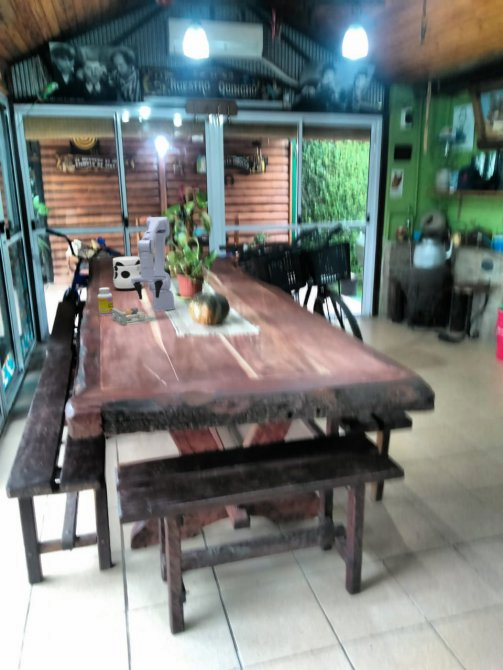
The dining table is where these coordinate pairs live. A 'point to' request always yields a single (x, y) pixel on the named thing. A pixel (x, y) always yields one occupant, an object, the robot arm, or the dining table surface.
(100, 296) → the supplement bottle
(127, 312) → the dial
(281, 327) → the dining table surface
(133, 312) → the charcoal knob
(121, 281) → the milk container
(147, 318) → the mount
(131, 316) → the ivory knob
